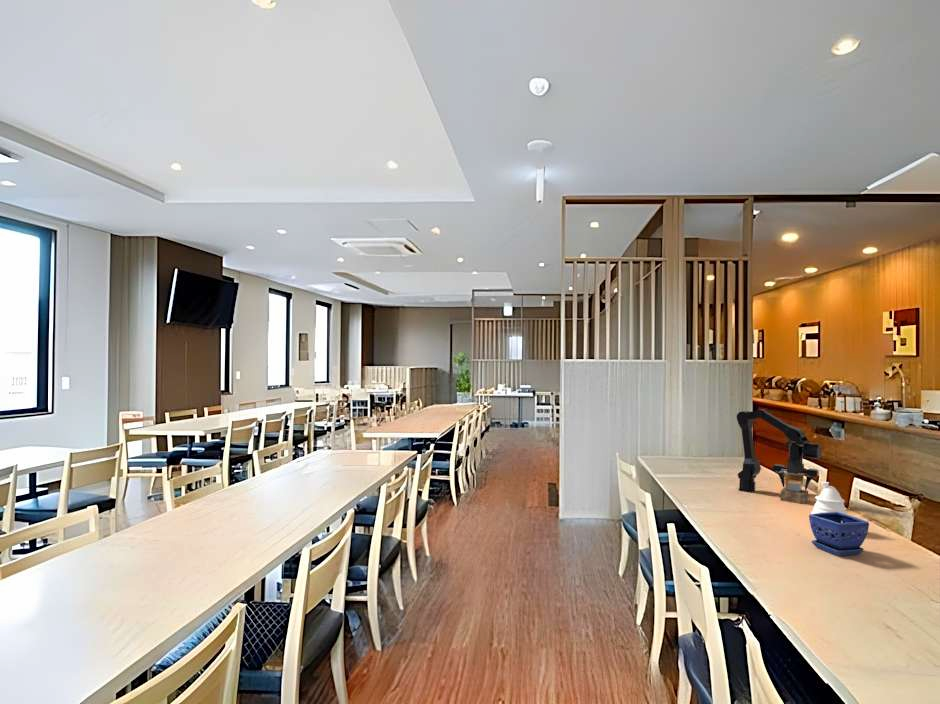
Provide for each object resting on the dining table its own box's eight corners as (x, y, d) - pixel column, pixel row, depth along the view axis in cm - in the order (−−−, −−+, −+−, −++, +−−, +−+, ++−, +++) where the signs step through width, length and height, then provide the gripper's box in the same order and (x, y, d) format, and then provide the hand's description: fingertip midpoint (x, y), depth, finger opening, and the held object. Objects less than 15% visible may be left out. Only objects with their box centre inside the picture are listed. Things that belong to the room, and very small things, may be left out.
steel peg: (787, 500, 280) (787, 481, 280) (789, 498, 284) (789, 479, 284) (799, 502, 277) (799, 483, 277) (801, 500, 281) (801, 481, 281)
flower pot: (838, 559, 200) (839, 523, 200) (806, 546, 213) (807, 512, 213) (869, 556, 204) (870, 521, 204) (836, 543, 217) (837, 511, 217)
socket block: (780, 500, 280) (780, 490, 280) (784, 496, 288) (784, 487, 288) (804, 504, 274) (804, 494, 274) (808, 500, 282) (808, 490, 282)
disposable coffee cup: (804, 493, 297) (805, 468, 297) (803, 496, 289) (804, 472, 289) (783, 490, 302) (784, 466, 302) (781, 493, 294) (782, 469, 294)
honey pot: (811, 529, 234) (812, 483, 234) (810, 521, 245) (811, 477, 245) (850, 535, 228) (851, 488, 228) (846, 526, 239) (848, 481, 239)
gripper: (770, 455, 280) (769, 488, 280) (815, 460, 269) (814, 495, 269) (775, 452, 289) (774, 484, 289) (819, 457, 277) (818, 490, 278)
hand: (794, 488), depth 281 cm, fingers open, 9 cm apart
